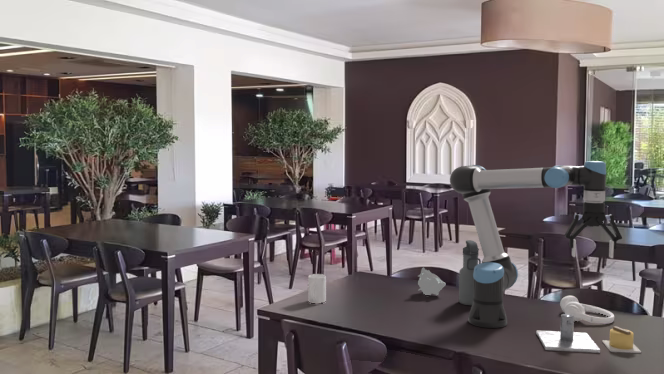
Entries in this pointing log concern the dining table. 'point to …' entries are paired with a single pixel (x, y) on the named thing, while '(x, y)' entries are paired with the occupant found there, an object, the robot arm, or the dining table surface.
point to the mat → (612, 349)
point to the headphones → (578, 311)
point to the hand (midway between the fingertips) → (592, 257)
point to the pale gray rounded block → (317, 288)
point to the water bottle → (468, 272)
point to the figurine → (430, 282)
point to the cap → (621, 338)
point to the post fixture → (567, 338)
